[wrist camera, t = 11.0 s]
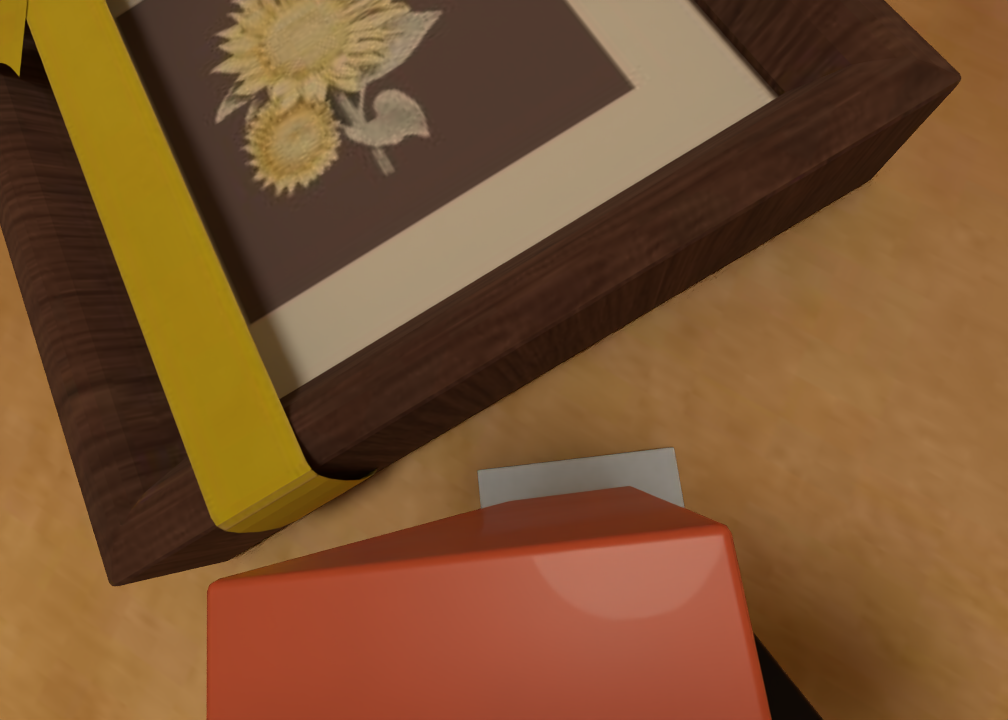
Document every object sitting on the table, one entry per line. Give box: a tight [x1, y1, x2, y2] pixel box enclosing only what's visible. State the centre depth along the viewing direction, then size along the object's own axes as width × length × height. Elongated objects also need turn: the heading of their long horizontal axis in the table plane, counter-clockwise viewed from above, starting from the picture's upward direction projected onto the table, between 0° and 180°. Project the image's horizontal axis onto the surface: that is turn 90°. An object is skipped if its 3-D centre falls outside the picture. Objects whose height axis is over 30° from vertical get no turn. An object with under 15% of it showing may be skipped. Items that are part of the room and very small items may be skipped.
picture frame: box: [0, 0, 961, 586], centre depth 21 cm, size 28×7×30 cm
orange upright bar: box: [207, 486, 772, 720], centre depth 9 cm, size 5×4×12 cm
